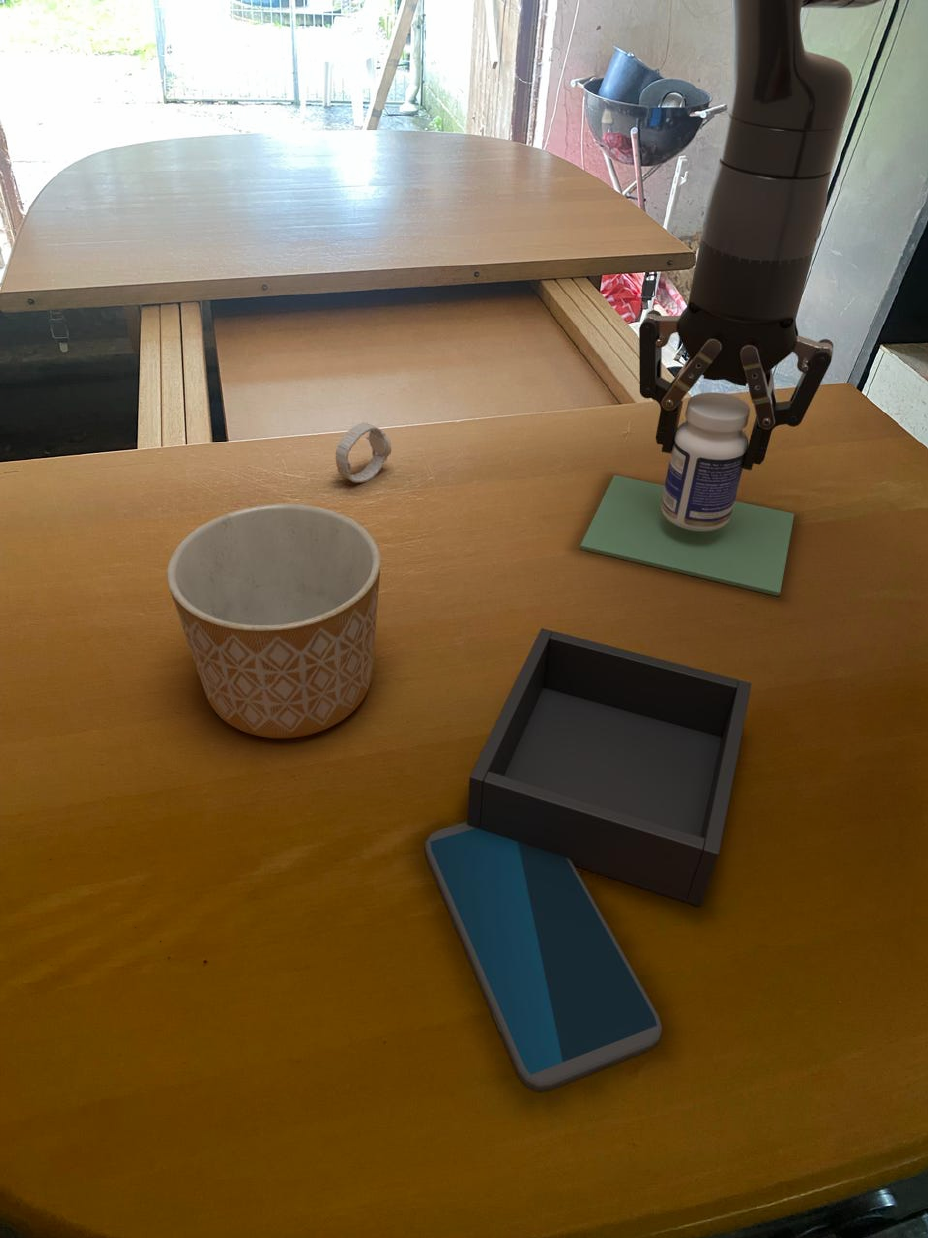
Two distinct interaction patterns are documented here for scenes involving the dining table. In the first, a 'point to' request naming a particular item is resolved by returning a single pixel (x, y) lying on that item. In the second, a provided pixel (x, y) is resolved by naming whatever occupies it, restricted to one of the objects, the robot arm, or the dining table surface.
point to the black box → (614, 763)
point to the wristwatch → (378, 445)
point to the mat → (691, 538)
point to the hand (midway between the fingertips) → (708, 455)
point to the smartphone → (541, 957)
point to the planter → (279, 615)
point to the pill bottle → (706, 462)
